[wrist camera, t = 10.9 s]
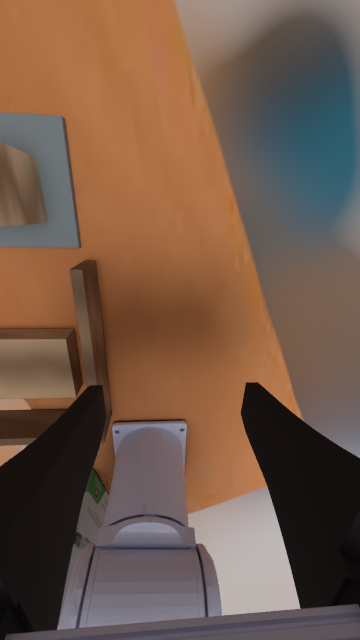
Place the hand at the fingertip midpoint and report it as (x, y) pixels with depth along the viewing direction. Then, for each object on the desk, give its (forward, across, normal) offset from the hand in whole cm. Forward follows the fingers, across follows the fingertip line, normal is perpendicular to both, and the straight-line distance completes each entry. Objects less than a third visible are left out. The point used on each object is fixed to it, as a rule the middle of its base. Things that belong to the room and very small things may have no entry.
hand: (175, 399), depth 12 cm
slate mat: (+10, +11, -10) cm, 18 cm away
